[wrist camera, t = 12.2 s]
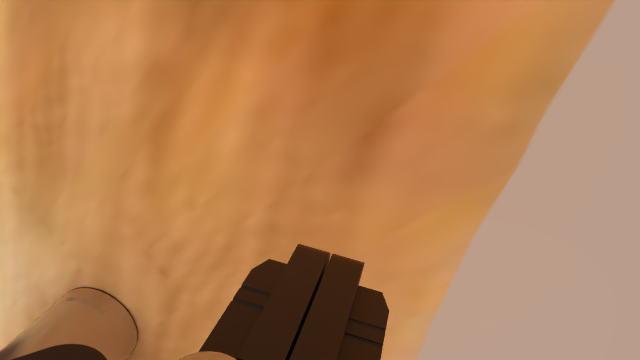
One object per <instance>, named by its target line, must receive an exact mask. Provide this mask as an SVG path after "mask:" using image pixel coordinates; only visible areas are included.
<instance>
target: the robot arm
mask: <svg viewBox="0 0 640 360" xmlns="http://www.w3.org/2000/svg"><path fill="white" fill-rule="evenodd" d="M329 260H330V261H329ZM363 267H364V263H363V262H360V261H356V260H353V259H350V258H346V257H343V256H339V255H336V254H332V256H331V258H330V253H328V252H325V251H322V250H318V249H315V248H311V247H308V246H304V245H301V244H298V245H297V247H296V249H295V251H294V252H293V254H292V256H291V258H290V260H289V262H288V264H284V263H281V262H278V261H274V260H271V259H268V260H267V261H265V262H263V263H262V264H260V265H258V266H257V267H255V268H253V269H252V270H251V271H250V273H249V274H248V276H247V278H246V279H245V281H244V282H243V284H242V286H241V288H239V290H238V291H237V293H236V295H235V296H234V298H233V301H231V302H230V304H229V305H228V307H227V309H226V310H225V312H224V313H223V315H222V316H221V318H220V319H219V321H218V323H217V324H216V326H215V327H214V329H213V330H212V332H211V333H210V335H209V337H208V338H207V340H206V341H205V343H204V344H203V346H202V347H201V349H200V350H199V352H197V353H192V354H190V355H187V356H185V357H183V358H181V359H179V360H380V359H381V353H382V346H383V342H384V336H385V330H386V325H387V319H388V314H389V310H388V307H387V304H386V302H385V299H384V296H383V293H382V292H379V291H375V290H372V289H369V288H365V287H362V286H359V282H360V278H361V274H362V271H363ZM136 343H137V330H136V326H135V323H134V321H133V319H132V317H131V316H130V314H129V313H128V311H127V310H126V309H125V308H124V307H123V306H122V305H121V304H120V303H119V302H118V301H116V300H115V299H114V298H112V297H111V296H109V295H107V294H106V293H103V292H101V291H98V290H95V289H90V288H78V289H74V290H72V291H70V292H68V293H67V294H66V295H65V296H63V297H62V298H61V299H60V300H59V301H58V302H57V303H55V304H54V305H53V306H52V307H51V308H50V309H48V310H47V311H46V312H45V313H44V314H43V315H41V316H40V317H39V318H38V319H37V320H36V321H34V322H33V323H32V324H31V325H30V326H29V327H27V328H26V329H25V330H24V331H23V332H22V333H21V334H19V335H18V336H17V337H16V338H15V339H14V340H13V341H11V342H10V343H9V344H8V345H7V346H6V347H4V348H3V349H2V350H1V351H0V360H125V359H126V358H127V357H128V356H129V355H130V353H131V352H132V351H133V349H134V348H135V346H136Z"/></svg>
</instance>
